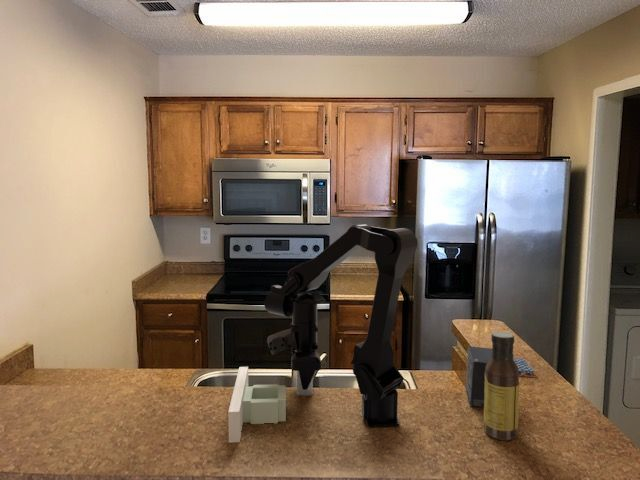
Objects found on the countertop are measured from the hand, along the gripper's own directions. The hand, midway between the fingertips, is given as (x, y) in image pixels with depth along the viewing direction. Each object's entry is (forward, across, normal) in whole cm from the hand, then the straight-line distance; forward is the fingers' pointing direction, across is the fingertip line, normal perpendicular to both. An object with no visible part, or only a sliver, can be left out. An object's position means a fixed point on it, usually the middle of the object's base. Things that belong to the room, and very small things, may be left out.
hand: (304, 385), depth 109 cm
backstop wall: (+2, +10, -14) cm, 17 cm away
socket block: (+2, +10, -9) cm, 13 cm away
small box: (+2, +6, +40) cm, 40 cm away
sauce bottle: (+2, +21, +37) cm, 43 cm away
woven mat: (+2, -11, +55) cm, 56 cm away
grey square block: (+2, 0, 0) cm, 2 cm away
